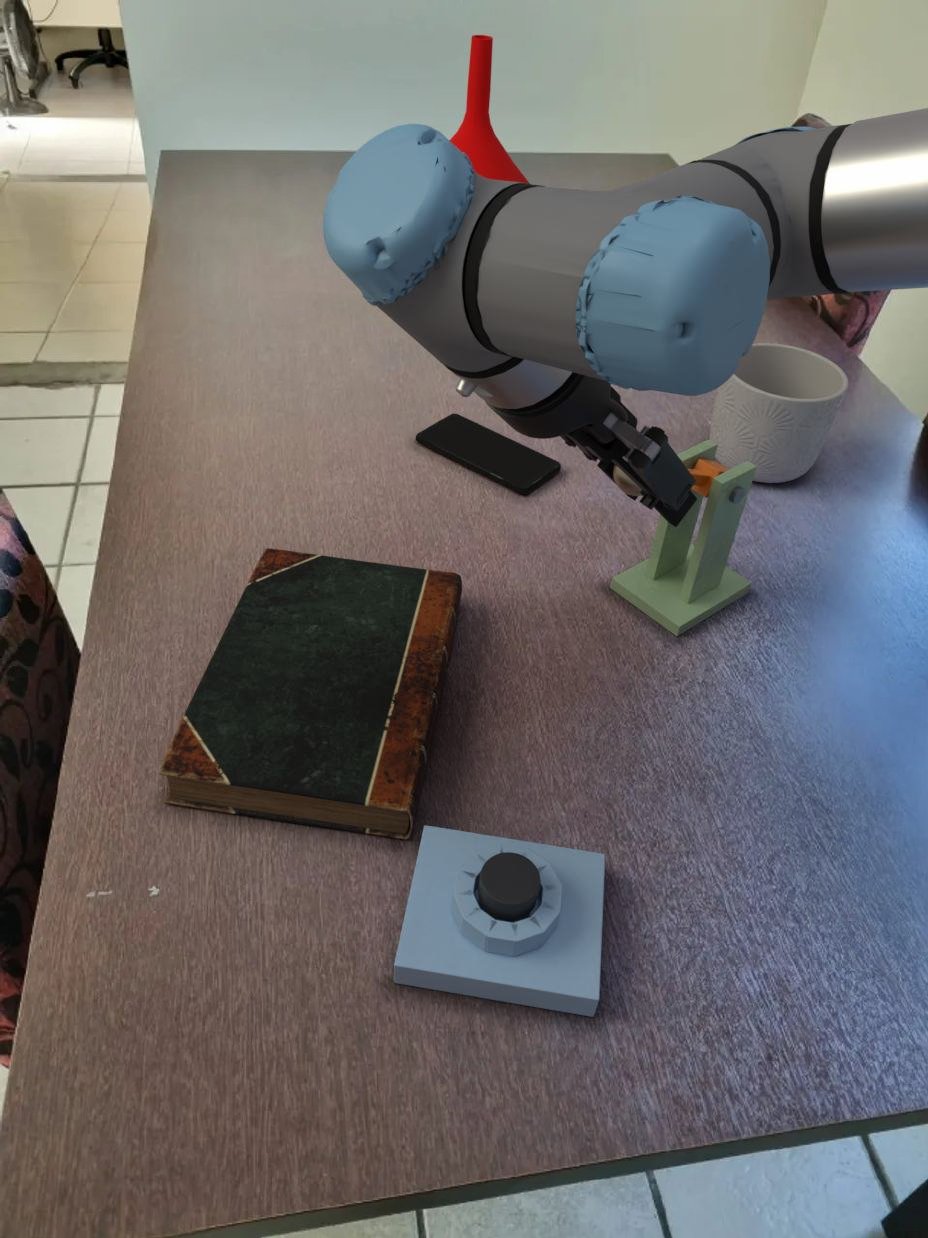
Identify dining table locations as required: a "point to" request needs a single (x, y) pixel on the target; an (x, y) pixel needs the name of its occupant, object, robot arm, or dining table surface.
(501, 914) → the button
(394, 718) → the book
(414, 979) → the button housing
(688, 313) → the robot arm
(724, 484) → the switch bracket
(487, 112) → the vase
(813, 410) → the planter
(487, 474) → the smartphone
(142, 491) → the dining table surface
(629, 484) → the switch lever
